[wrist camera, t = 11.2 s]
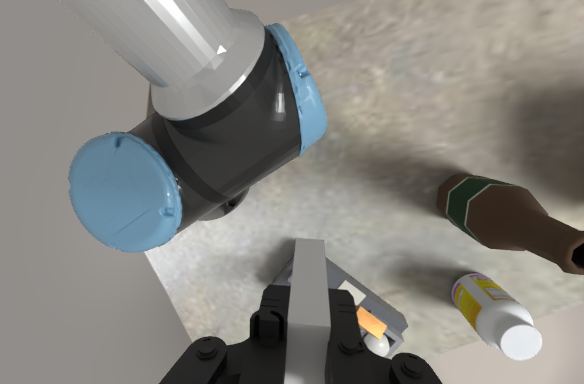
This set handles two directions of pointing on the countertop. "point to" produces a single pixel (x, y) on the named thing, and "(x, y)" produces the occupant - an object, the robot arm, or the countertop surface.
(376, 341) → the push button
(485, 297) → the supplement bottle
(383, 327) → the paddle lever
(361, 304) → the switch panel
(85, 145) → the robot arm
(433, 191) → the countertop surface
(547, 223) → the beer bottle
